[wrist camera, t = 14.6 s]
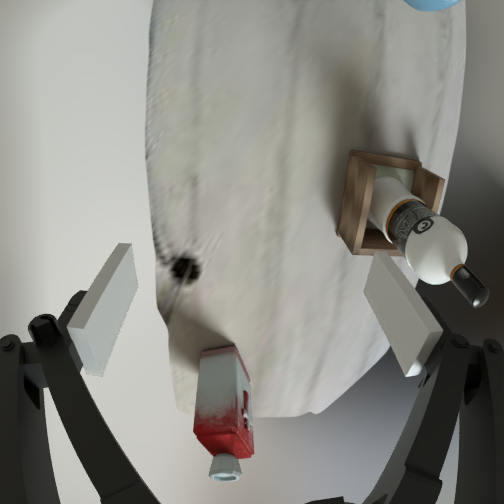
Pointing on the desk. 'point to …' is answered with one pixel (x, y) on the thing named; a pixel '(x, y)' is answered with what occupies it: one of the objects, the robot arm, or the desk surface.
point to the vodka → (424, 238)
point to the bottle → (224, 411)
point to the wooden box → (360, 193)
